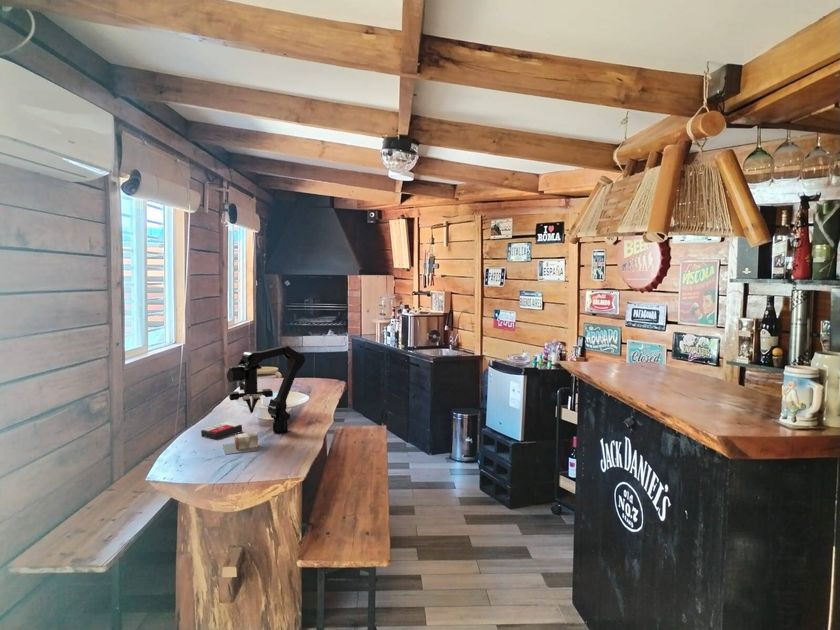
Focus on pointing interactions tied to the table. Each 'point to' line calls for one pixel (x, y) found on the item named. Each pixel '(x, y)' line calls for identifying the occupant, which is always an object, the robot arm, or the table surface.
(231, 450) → the mat
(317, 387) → the table surface
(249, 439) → the block
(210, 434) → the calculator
